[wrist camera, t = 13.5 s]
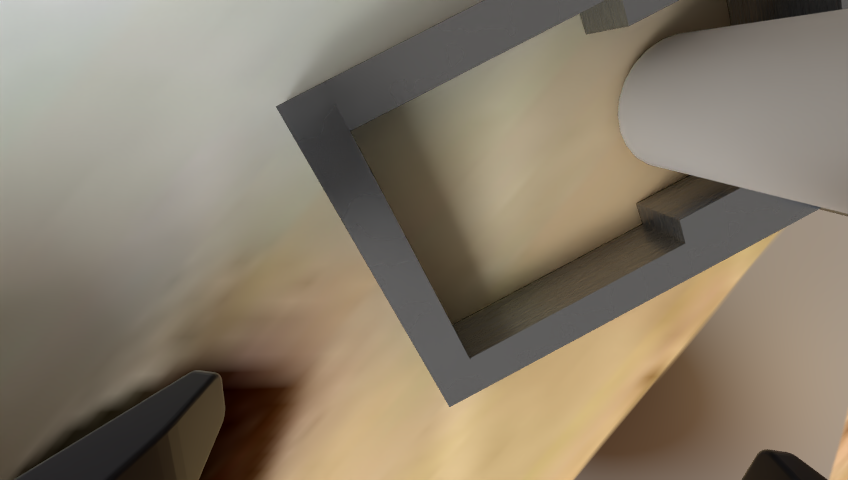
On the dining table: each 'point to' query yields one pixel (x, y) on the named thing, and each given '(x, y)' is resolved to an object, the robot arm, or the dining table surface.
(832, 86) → the beverage can
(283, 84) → the dining table surface
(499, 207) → the dining table surface
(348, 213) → the grey shallow tray
